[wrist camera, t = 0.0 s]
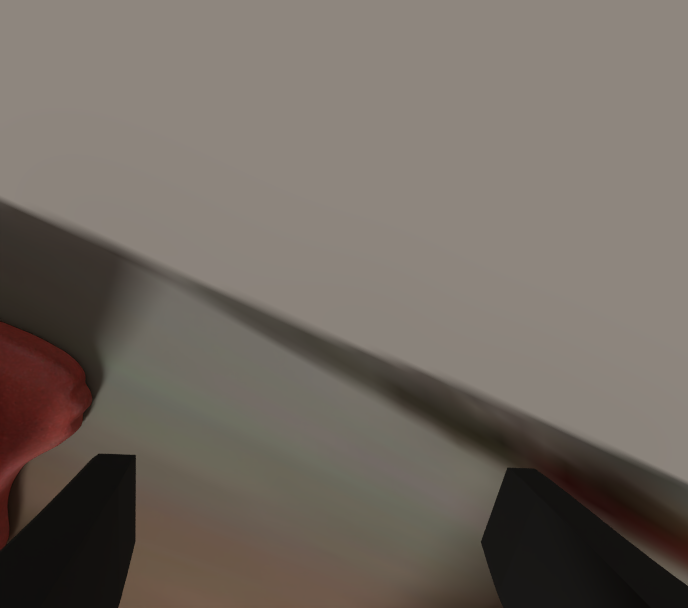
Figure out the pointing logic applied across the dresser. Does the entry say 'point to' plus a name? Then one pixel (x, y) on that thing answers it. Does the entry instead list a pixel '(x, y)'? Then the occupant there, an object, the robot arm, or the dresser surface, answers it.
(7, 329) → the stacking bear
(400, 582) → the dresser surface
